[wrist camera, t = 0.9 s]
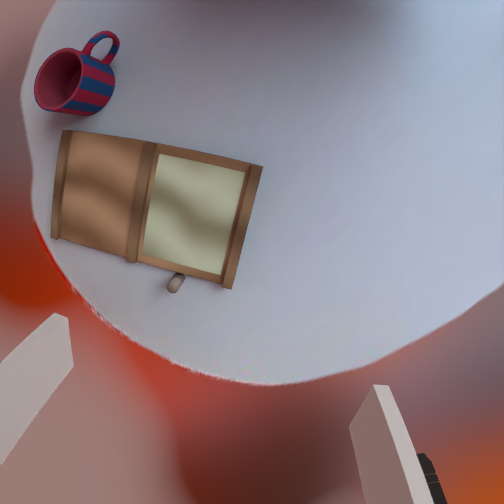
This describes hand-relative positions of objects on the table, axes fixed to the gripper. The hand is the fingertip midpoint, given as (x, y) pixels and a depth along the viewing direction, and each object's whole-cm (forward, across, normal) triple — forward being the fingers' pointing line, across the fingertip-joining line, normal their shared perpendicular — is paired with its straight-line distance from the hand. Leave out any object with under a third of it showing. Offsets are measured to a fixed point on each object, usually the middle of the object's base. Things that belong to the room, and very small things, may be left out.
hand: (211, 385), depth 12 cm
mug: (+23, -20, +15) cm, 34 cm away
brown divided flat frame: (+22, -12, +1) cm, 25 cm away
